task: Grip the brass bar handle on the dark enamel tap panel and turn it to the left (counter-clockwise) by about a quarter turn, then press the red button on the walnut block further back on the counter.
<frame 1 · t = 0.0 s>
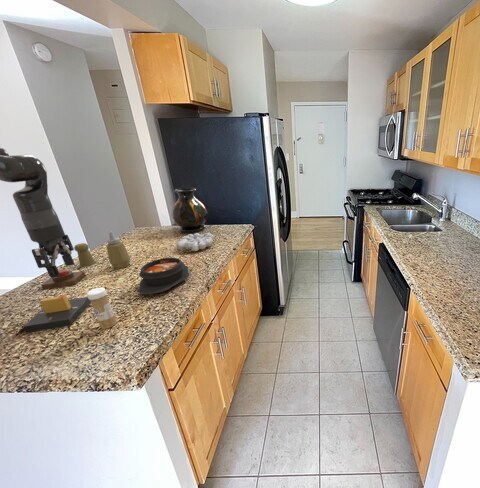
hand: (63, 270, 86), 18 cm above the countertop, tool pointing down, fingers open, 8 cm apart
tap handle: (55, 304, 90), point 5 cm above the countertop, hinge at 0.0°
squeeze bottle: (122, 266, 128), on the countertop
button block: (65, 282, 114), on the countertop
amphora vase: (193, 229, 180), on the countertop
casserole: (166, 282, 114), on the countertop
button: (61, 273, 112), point 5 cm above the countertop, slide at 0.2 cm
tap panel: (61, 316, 92), on the countertop
cork: (88, 264, 130), on the countertop
grey lumpy cluster: (196, 246, 152), on the countertop
sprinkles bottle: (109, 325, 88), on the countertop
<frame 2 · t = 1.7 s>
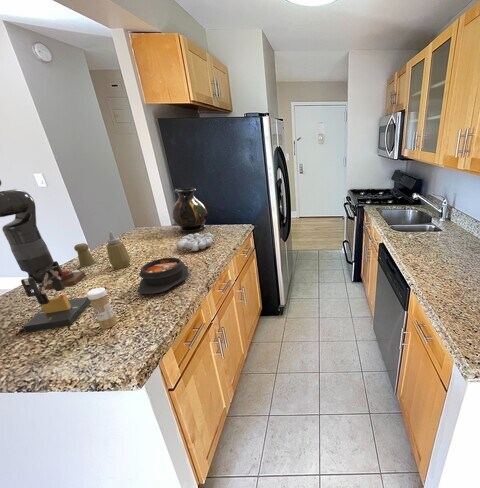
hand: (52, 296, 89), 8 cm above the countertop, tool pointing down, fingers open, 8 cm apart
nothing on the countertop moved.
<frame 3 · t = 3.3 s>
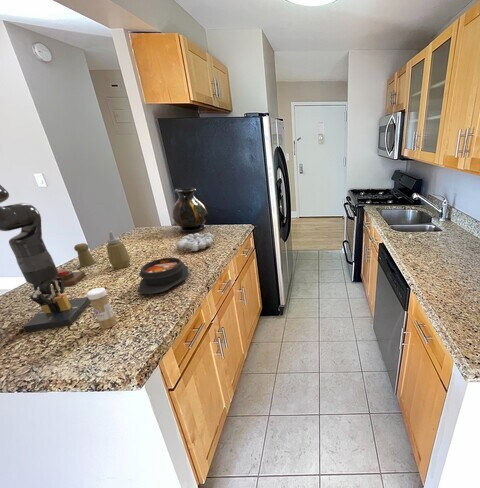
hand: (58, 309, 91), 3 cm above the countertop, tool pointing down, fingers closed on tap handle, 2 cm apart
tap handle: (55, 304, 90), point 5 cm above the countertop, hinge at 0.0°, touching gripper
everything else where it was.
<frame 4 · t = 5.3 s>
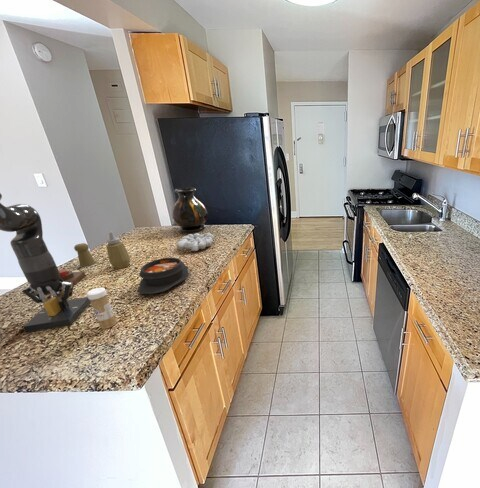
hand: (59, 310, 91), 3 cm above the countertop, tool pointing down, fingers closed
tap handle: (55, 304, 90), point 5 cm above the countertop, hinge at 84.8°
everything else where it was.
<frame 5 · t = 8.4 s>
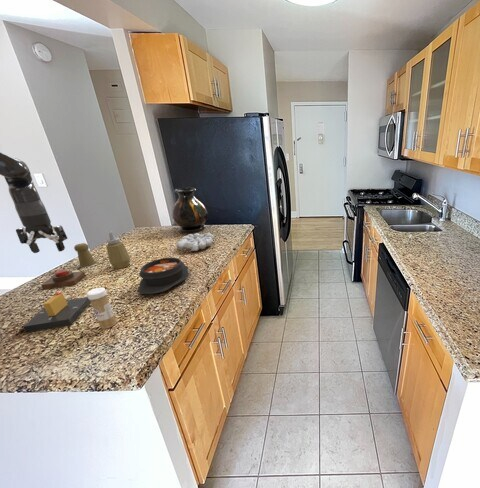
hand: (49, 251, 105), 16 cm above the countertop, tool pointing down, fingers open, 8 cm apart
nothing on the countertop moved.
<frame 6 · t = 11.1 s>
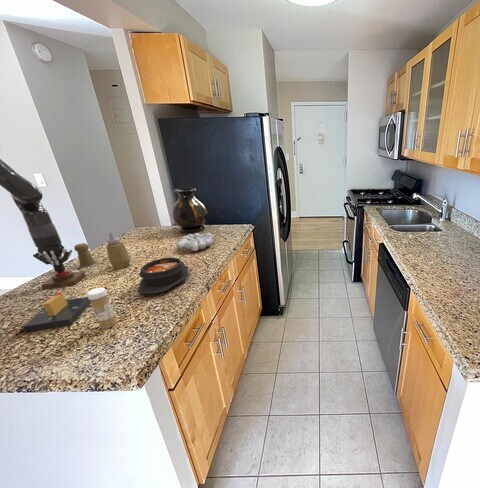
hand: (61, 271, 112), 5 cm above the countertop, tool pointing down, fingers closed
button: (61, 273, 112), point 4 cm above the countertop, slide at -0.1 cm, touching gripper
everything else where it was.
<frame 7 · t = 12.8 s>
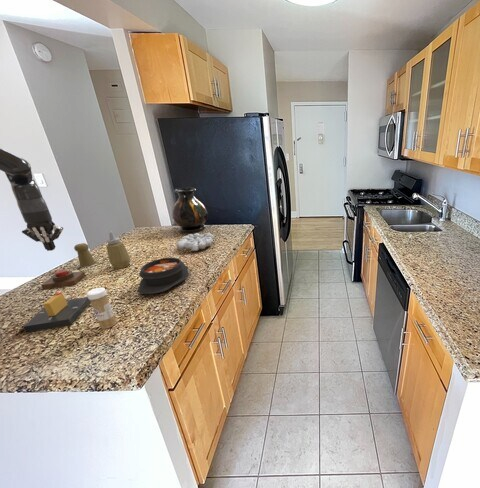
hand: (51, 249, 108), 15 cm above the countertop, tool pointing down, fingers closed
button: (61, 273, 112), point 5 cm above the countertop, slide at 0.2 cm
everything else where it was.
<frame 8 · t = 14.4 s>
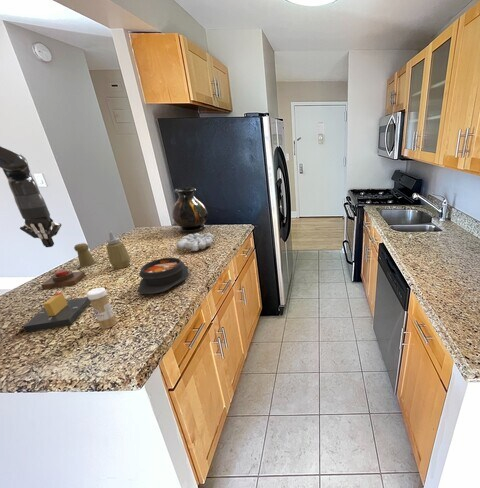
hand: (49, 246, 107), 17 cm above the countertop, tool pointing down, fingers closed
nothing on the countertop moved.
at the end: tap handle at +85° (first picture: +0°); button pushed in 1.1 cm at the most during the clip, back to 0.2 cm at the end; button slide at 0.2 cm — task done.
